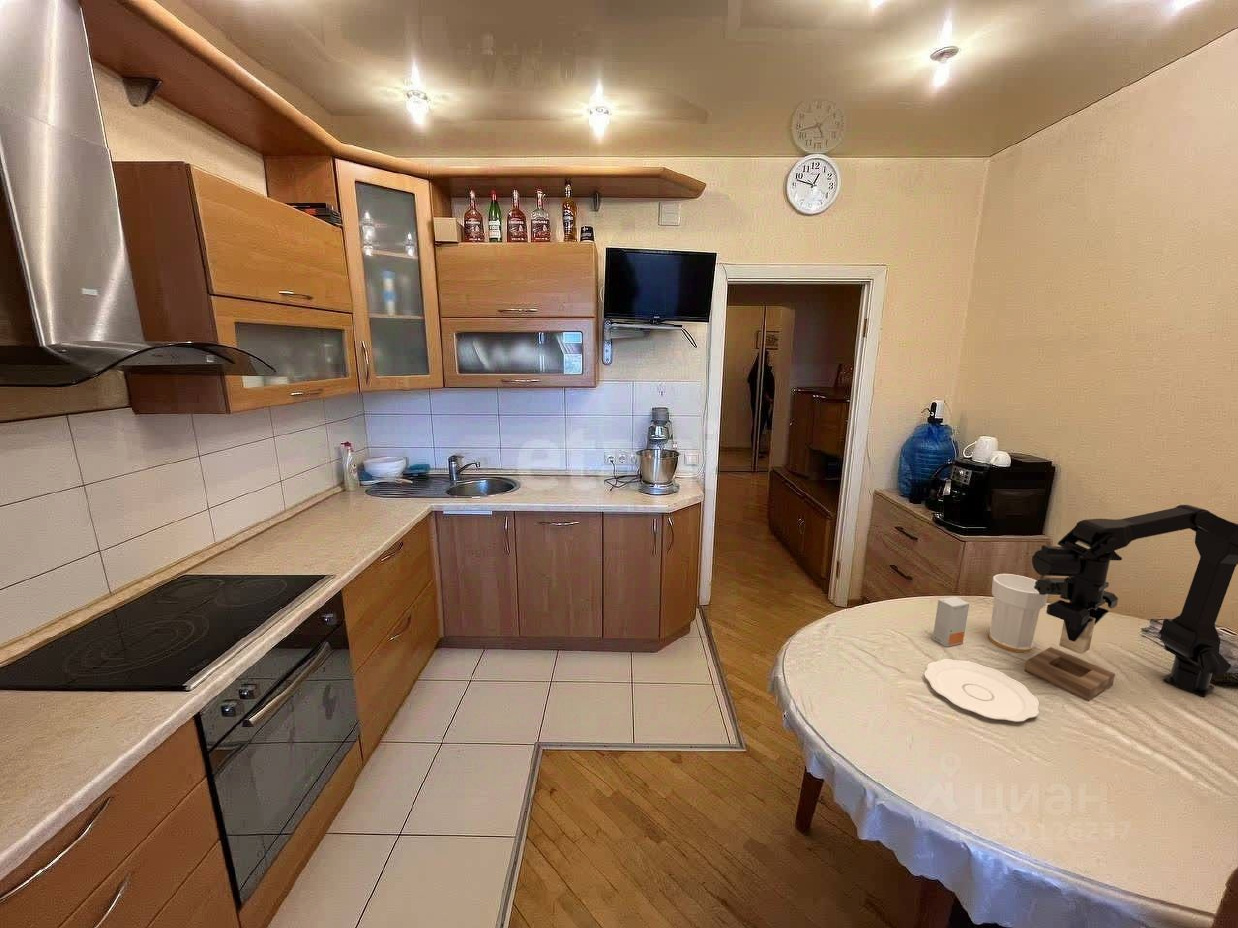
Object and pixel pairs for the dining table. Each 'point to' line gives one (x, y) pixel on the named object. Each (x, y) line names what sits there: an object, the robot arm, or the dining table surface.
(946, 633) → the skincare box
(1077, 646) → the maple peg
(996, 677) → the plate
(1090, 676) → the socket block
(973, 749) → the dining table surface
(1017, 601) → the cup
